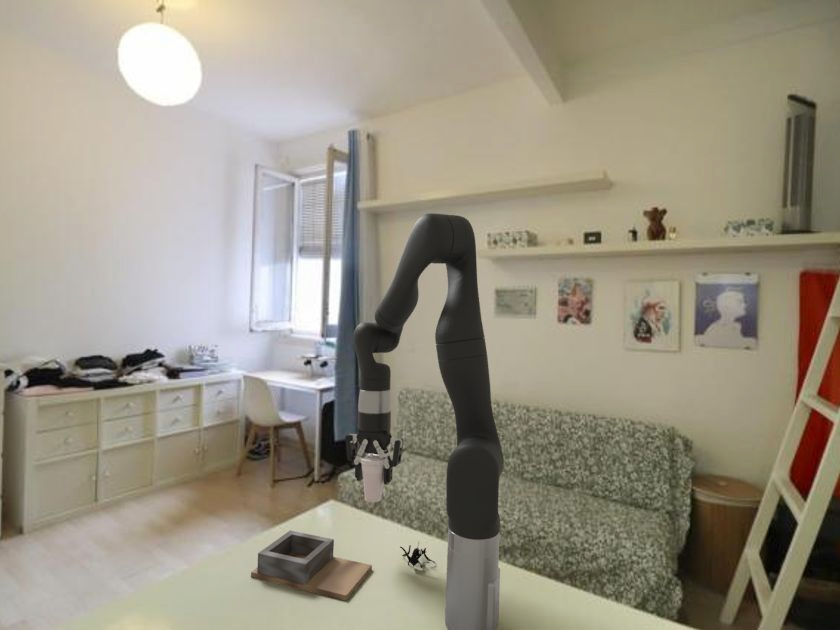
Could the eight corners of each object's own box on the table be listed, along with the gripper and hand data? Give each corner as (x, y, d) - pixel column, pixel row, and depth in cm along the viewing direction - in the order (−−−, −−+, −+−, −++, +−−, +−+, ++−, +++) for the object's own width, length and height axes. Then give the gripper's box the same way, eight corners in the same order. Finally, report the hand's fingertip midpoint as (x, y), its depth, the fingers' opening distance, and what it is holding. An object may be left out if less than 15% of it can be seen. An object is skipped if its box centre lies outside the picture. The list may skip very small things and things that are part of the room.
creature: (405, 557, 108) (393, 566, 101) (407, 533, 110) (396, 540, 102) (437, 564, 106) (428, 573, 99) (439, 539, 107) (430, 546, 100)
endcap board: (371, 569, 100) (372, 546, 100) (346, 600, 89) (346, 574, 89) (285, 550, 107) (285, 528, 107) (250, 576, 96) (251, 552, 96)
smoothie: (355, 496, 108) (356, 436, 108) (381, 492, 111) (382, 433, 111) (363, 506, 102) (365, 442, 102) (391, 502, 105) (392, 440, 105)
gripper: (409, 408, 108) (408, 480, 108) (354, 404, 113) (352, 473, 112) (397, 414, 101) (396, 491, 101) (339, 409, 106) (337, 483, 105)
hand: (373, 481), depth 106 cm, fingers closed on smoothie, 6 cm apart
